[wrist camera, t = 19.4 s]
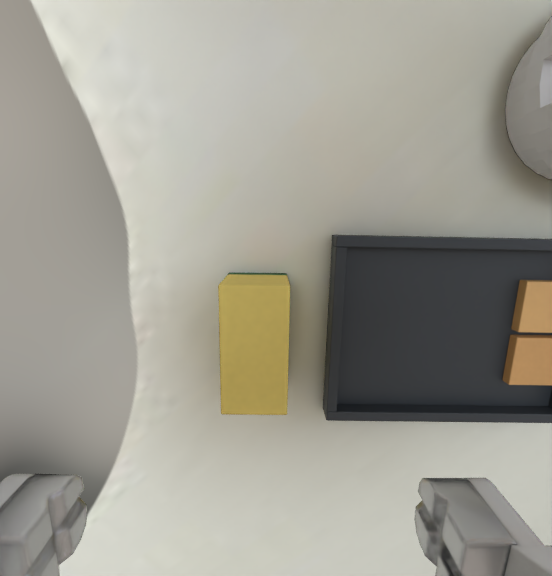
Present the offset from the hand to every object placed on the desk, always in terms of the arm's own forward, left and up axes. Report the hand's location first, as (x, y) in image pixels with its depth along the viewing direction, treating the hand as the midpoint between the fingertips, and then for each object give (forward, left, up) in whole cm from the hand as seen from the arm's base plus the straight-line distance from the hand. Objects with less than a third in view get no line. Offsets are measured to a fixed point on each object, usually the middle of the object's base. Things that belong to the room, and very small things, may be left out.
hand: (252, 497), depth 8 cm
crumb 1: (-1, +21, -17) cm, 27 cm away
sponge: (+2, -1, -18) cm, 18 cm away
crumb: (+4, +21, -17) cm, 28 cm away
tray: (+2, +15, -18) cm, 23 cm away
